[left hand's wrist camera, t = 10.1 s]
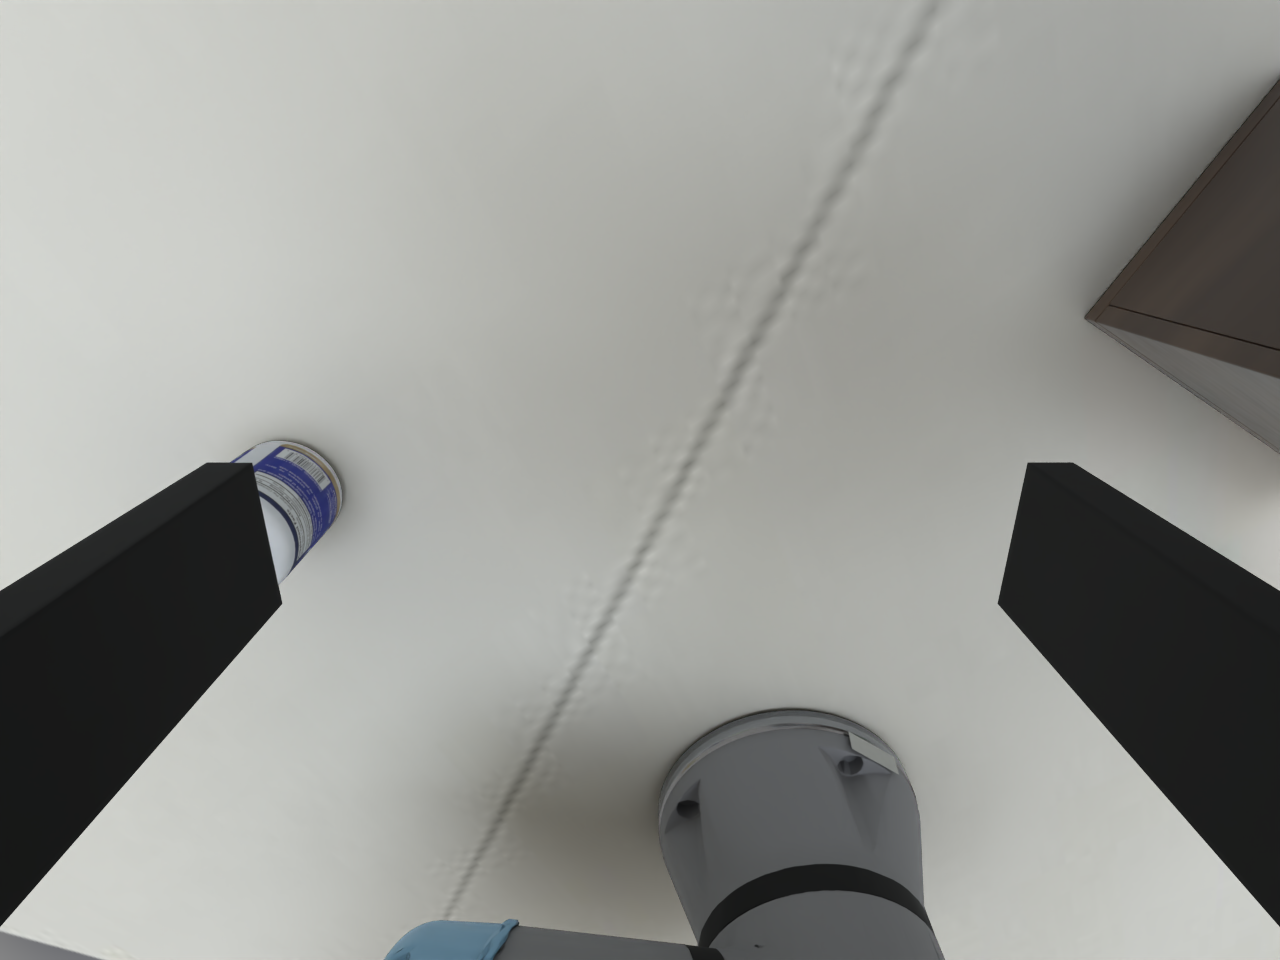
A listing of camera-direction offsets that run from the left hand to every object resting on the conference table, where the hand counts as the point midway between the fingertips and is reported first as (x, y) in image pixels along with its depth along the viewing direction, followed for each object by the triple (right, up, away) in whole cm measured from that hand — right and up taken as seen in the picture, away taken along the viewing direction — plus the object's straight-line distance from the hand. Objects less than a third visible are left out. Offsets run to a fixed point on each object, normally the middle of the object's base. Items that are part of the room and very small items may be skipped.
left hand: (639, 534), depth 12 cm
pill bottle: (-17, +1, +23) cm, 29 cm away
